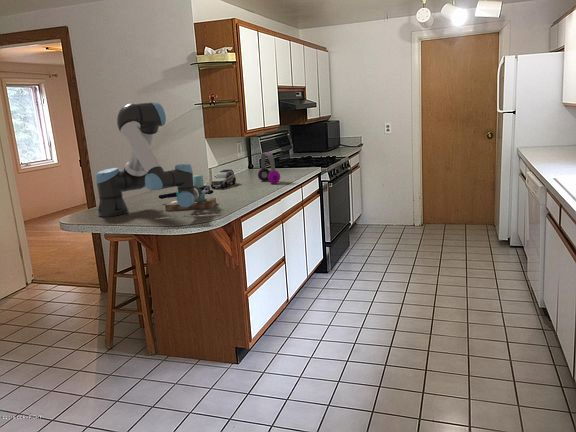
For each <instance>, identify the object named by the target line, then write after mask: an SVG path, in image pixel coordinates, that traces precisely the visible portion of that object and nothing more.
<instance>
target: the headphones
mask: <svg viewBox="0 0 576 432" xmlns="http://www.w3.org/2000/svg"><path fill="white" fill-rule="evenodd" d="M260 155H261V156H260V169H259V170H258V172H257V177H258V179H259V180H260V181H261V182H267V181H268V183H270V184H272V185H273V184H274V185H275V184H278V183H279V182H280V179H281V175H280V172H279V171H278V170H276V165H275V163H276V162H275V159H274V155H273V153H272V152H271V151H267V152H262V153H261V154H260ZM266 160H268V162H269V163H270V170H269V169H268V168H266V167H265V166H266Z"/></svg>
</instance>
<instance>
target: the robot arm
mask: <svg viewBox="0 0 576 432" xmlns="http://www.w3.org/2000/svg"><path fill="white" fill-rule="evenodd" d="M166 116H167V115H166V113H165V109H164V107H163V106H162V104H161V103H159V102H152V101H150V102H140V103H139V102H136V103H132V102H131V103H128V104H126V105H123V106H122V107H121V108H120V110H119V111H118V113H117V117H116V123H117V124H116V125H117V128H118V130H119V132H120V134H121V135H122V136H124V137H125V138H126V141H128V144H129V145H130V147H131V151H130V154H129V155H130V156H129V159H128V161H127V162H126V163H125V164H124V167H123V169H119V168H118V167H112V168H107V169H102V170H100V171H98V172H97V173H96V174H95V179H96V181H95V183H96V186H97V193H98V198H99V203H98V207H97V208H98V209H97V214H98V215H97V216H98V217H103V218H108V217H115V216H116V217H117V216H121V215H124V214H127V213H129V207H128V205H127V203H126V201H125V198H124V197H123V192H130V191H136V190H137V191H138V190H142V189H145V188H147V189H148V190H149V191H151V192H152V191H161V190H164V189H170V188H176V187H177V191H178V196H177V197H176V200H177V203H178V204H179V205H180V206H181V207H189V206H191V205H193V203H194V202H195V201H196V200H198V199H199V197H200V195H201V194H202V193H203V192H204V193H206V194H205V195H208V194H207V193H208V192H209V191H210V190H211V185H208V184H207V183H203V184H204V185H203V187H197V186H194V183H193V176H194V175H193V174H194V173H193V168H192V165H191V164H189V163H180V164H175V165H174V169H171V170H166V171H165V170H164V168H163V167H162V165H161V163H160V161H159V160H158V158H157V156H156V155H155V154H156V153H154V151H153V149H152V147H151V146H152V142H153V139H154V135H155V134H157V133H158V132H159V128H160V127H163V126H165V124H166V122H167V118H166Z"/></svg>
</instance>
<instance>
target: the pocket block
mask: <svg viewBox="0 0 576 432" xmlns="http://www.w3.org/2000/svg"><path fill="white" fill-rule="evenodd" d="M216 204H217V197H207V198H206V197H205V201H204V202H196V201H195V202H194V203H193V205H191V206H189V207H181V206H180V205H179V204H178V203H177V199H176V200H170V201H168V202H167V203H166V204H165V205H164V207H165V211H166V212H171V211H185V210H198V209H200V210H201V209H213V208H214V207H215V205H216Z"/></svg>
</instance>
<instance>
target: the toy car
mask: <svg viewBox="0 0 576 432" xmlns="http://www.w3.org/2000/svg"><path fill="white" fill-rule="evenodd" d="M236 177H237V176H236V175H235V172H234V170H233V169H229V168H227V169H222V170H220V171H219V172H218V173H217V174H216V175H214V179H212V180H211V182H210V189H215V188H223V189H227V188H228V187H229V185H230V184H232V185H236V182H237V179H236Z"/></svg>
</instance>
